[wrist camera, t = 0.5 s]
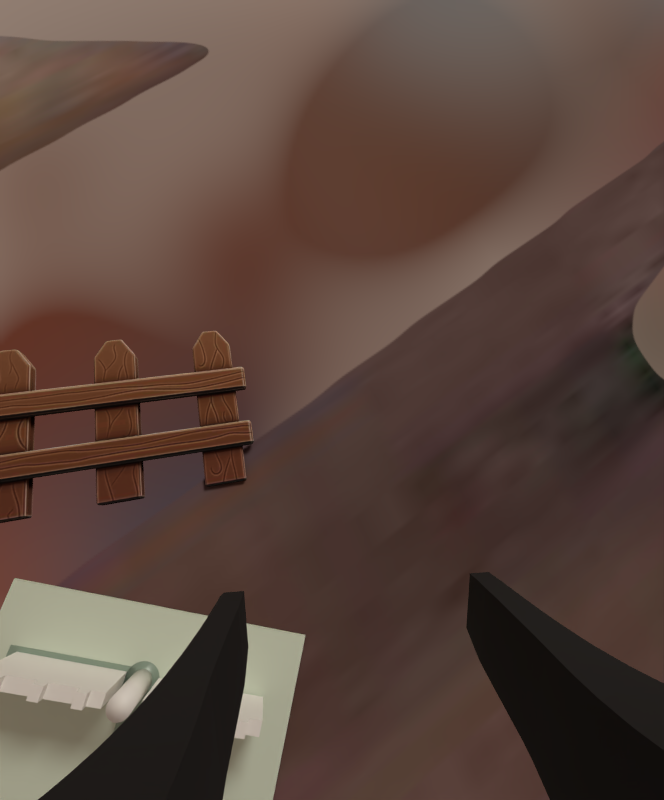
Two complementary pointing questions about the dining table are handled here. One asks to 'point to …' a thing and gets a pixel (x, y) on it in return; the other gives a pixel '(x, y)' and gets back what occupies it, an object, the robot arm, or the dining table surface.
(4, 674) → the fence post and fixed panel
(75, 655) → the card
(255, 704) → the folding fence panel
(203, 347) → the decorative fence
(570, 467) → the dining table surface
